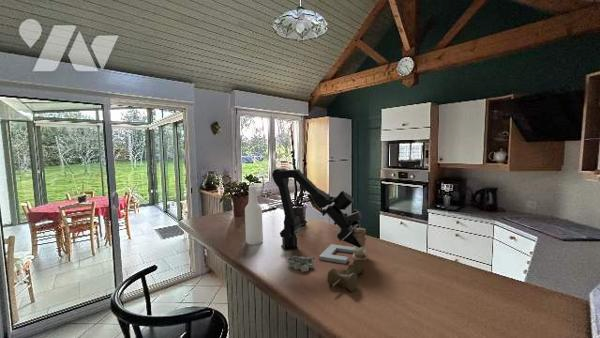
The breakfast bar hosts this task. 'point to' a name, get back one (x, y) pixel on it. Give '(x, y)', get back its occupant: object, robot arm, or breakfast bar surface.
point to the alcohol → (253, 219)
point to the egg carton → (296, 262)
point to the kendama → (346, 276)
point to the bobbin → (360, 236)
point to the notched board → (330, 256)
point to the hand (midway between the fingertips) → (362, 243)
